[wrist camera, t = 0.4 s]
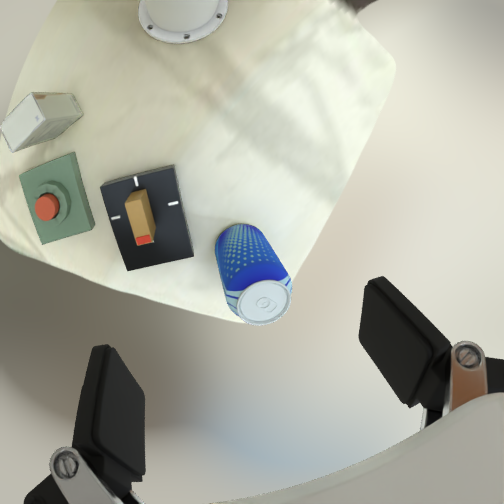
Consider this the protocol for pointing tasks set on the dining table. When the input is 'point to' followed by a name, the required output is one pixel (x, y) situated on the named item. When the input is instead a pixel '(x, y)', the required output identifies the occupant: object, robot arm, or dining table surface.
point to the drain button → (47, 207)
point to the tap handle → (140, 217)
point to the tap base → (164, 213)
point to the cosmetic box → (39, 119)
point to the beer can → (252, 275)
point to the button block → (65, 190)
